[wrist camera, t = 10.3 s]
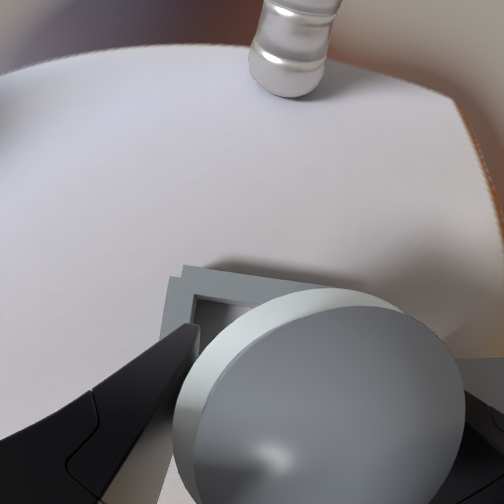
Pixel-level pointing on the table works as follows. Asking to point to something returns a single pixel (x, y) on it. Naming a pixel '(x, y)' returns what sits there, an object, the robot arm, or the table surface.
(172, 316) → the cradle
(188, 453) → the cylinder
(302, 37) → the plastic bottle
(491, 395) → the block
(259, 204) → the table surface
